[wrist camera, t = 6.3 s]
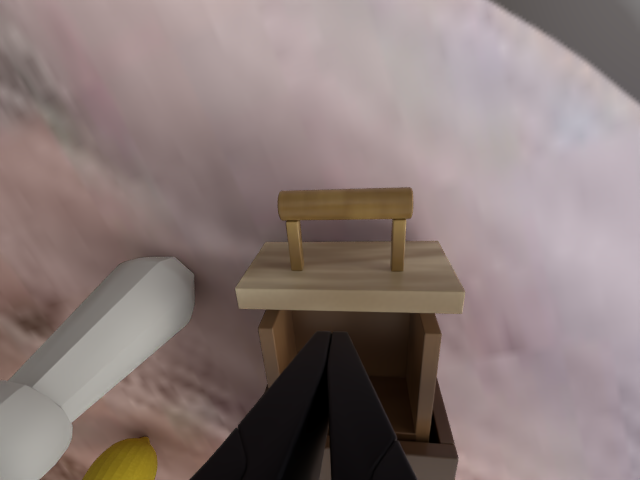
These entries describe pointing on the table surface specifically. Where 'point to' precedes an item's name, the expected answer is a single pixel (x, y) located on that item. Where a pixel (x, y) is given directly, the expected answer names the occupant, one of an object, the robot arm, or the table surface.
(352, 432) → the robot arm
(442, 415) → the cabinet
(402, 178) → the table surface
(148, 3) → the table surface
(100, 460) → the lemon
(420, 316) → the drawer
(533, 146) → the table surface
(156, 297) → the white bowling pin
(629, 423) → the table surface
